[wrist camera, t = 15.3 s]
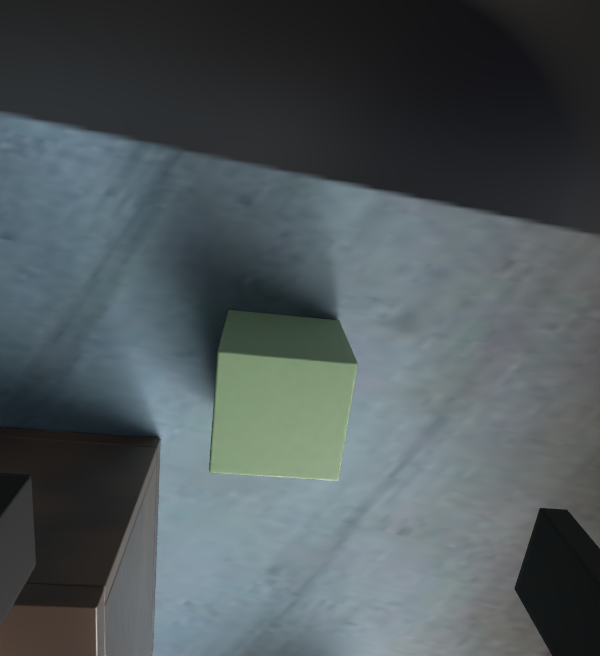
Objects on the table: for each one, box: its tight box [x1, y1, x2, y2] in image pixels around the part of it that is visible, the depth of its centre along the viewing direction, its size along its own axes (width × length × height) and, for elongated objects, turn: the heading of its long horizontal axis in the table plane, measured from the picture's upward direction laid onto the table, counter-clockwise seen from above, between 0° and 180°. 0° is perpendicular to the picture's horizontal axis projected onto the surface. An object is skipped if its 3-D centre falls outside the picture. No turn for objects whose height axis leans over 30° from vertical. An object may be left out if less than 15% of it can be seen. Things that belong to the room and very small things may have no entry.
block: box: [209, 310, 358, 481], centre depth 21 cm, size 5×5×5 cm
